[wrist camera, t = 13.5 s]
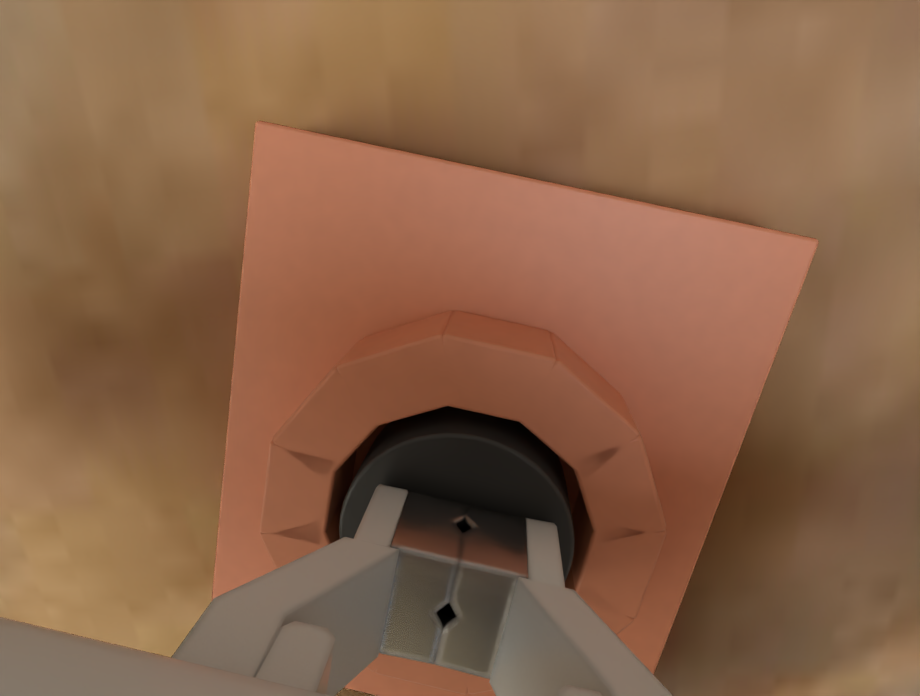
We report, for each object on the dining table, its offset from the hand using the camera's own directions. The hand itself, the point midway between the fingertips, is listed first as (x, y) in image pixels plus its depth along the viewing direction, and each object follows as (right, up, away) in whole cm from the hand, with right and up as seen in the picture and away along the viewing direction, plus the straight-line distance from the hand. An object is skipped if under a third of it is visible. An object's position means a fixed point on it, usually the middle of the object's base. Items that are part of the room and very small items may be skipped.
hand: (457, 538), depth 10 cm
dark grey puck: (0, 0, +2) cm, 2 cm away
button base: (0, +1, +4) cm, 4 cm away
